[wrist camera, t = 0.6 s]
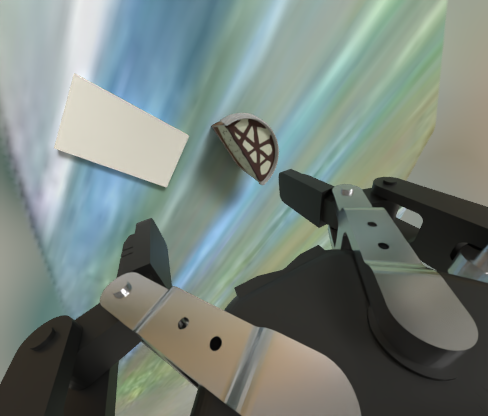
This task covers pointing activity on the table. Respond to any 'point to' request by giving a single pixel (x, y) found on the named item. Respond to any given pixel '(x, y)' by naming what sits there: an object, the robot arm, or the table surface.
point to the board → (118, 134)
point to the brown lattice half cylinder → (249, 144)
